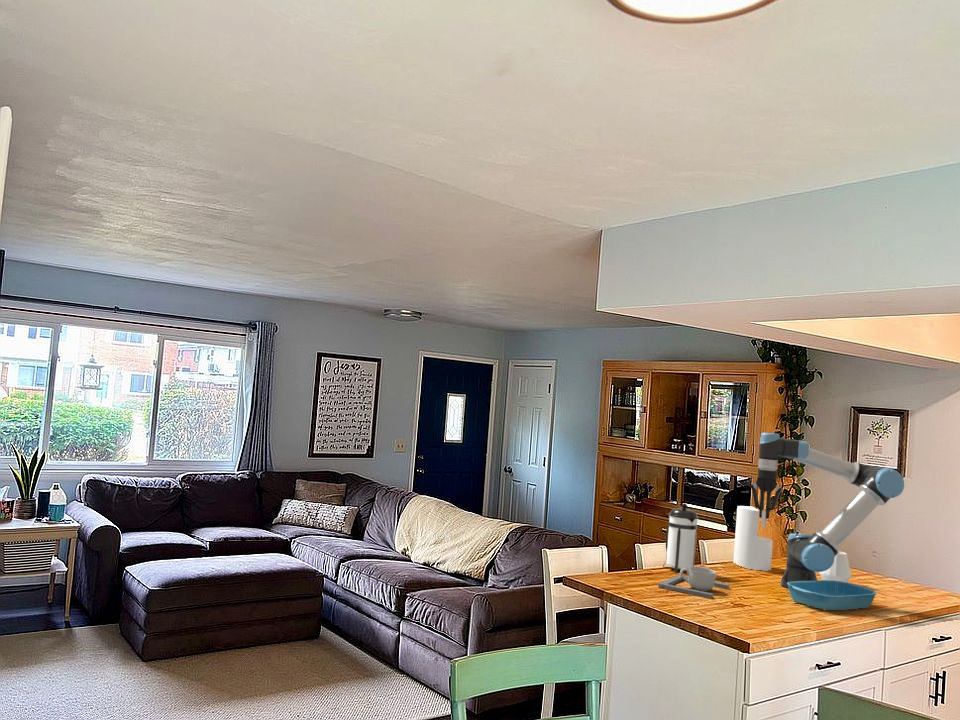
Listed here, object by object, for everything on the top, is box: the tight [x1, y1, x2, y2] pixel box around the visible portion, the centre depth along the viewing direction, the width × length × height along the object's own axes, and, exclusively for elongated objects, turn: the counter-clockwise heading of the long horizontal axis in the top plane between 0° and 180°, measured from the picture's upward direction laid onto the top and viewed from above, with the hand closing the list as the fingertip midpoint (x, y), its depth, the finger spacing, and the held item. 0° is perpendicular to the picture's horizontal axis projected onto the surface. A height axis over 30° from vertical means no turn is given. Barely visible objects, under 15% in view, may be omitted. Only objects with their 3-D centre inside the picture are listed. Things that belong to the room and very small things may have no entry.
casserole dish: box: [787, 579, 877, 611], centre depth 310 cm, size 37×22×7 cm, turn 117°
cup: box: [818, 550, 852, 583], centre depth 356 cm, size 13×13×14 cm
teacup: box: [679, 565, 717, 592], centre depth 317 cm, size 14×11×8 cm
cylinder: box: [732, 505, 774, 572], centre depth 378 cm, size 17×17×28 cm
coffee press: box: [662, 502, 699, 573], centre depth 354 cm, size 17×16×30 cm
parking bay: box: [657, 574, 730, 599], centre depth 317 cm, size 21×26×2 cm
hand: (763, 526), depth 326 cm, fingers closed
